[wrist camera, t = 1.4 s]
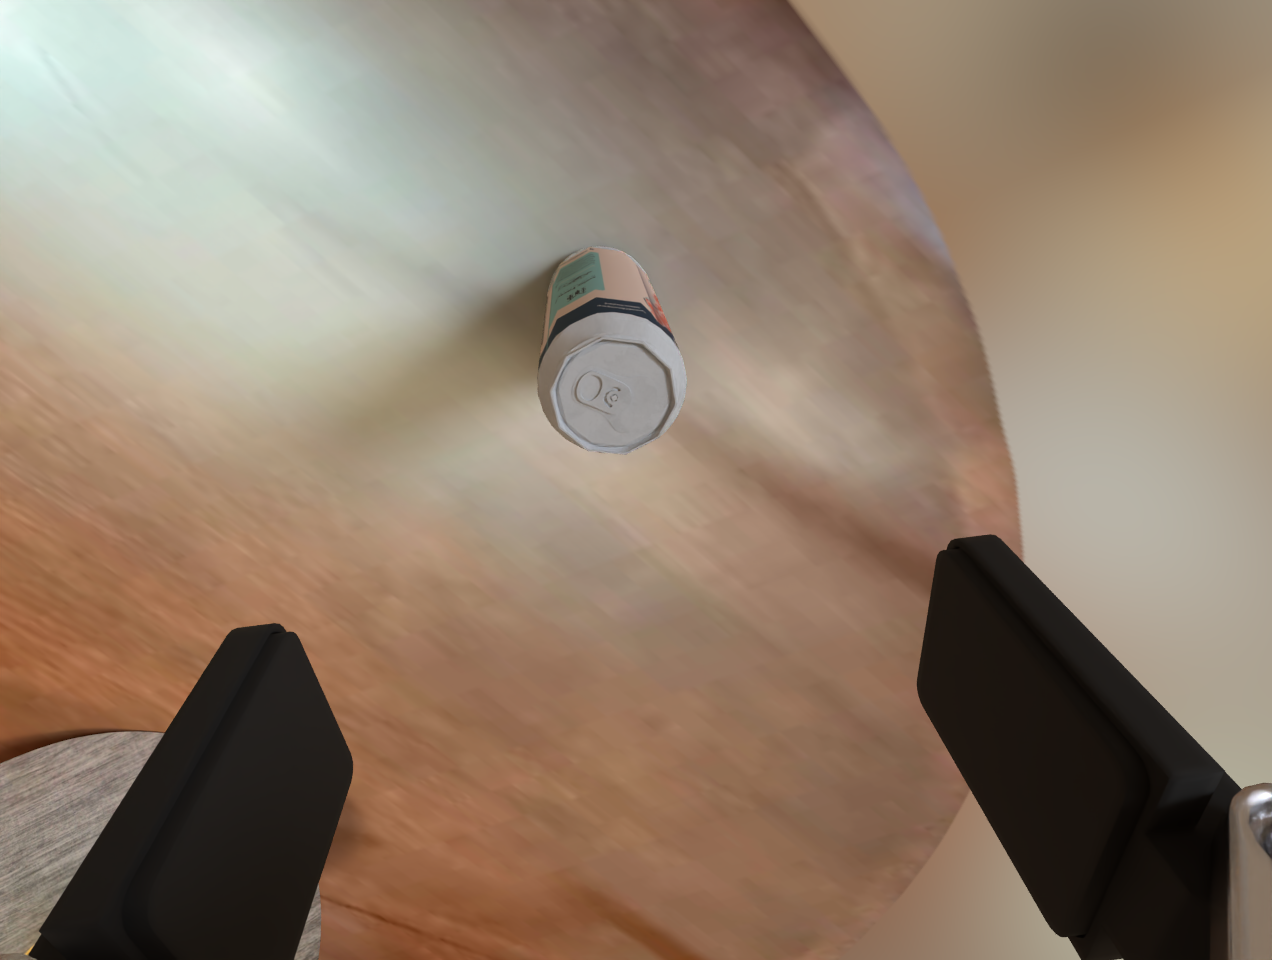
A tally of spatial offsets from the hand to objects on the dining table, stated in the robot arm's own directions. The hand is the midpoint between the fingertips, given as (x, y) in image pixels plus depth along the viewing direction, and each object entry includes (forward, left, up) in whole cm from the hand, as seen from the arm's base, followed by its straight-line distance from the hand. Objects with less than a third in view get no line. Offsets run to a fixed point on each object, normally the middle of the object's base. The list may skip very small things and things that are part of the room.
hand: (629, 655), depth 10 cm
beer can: (0, +1, -24) cm, 24 cm away
